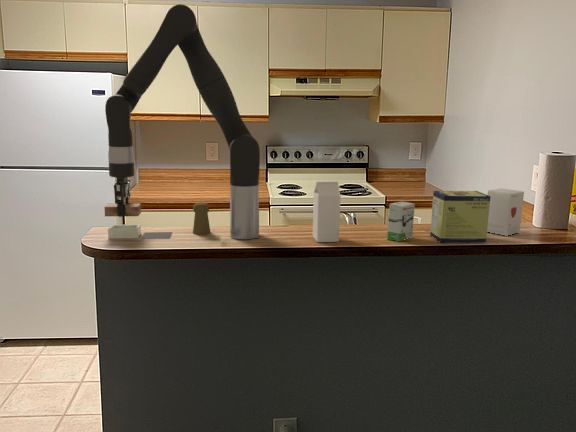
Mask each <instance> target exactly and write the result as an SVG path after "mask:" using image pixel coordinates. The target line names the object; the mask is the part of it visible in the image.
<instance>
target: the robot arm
mask: <svg viewBox="0 0 576 432" xmlns="http://www.w3.org/2000/svg"><path fill="white" fill-rule="evenodd" d="M197 22H198V21H197V18H196V15H195V13H194V10H192V9H191V8H190V7H189V6H188V5H185V4H182V3H179V4H175V5H172V6H171V7H170V8H168V9H167V11H166V13H165V15H164V18H163V20H162V22H161V24H160V27H159V29H158V30H157V32H156V34H155V35H154V36H153V39H152V40H151V41H150V43H149V44H148V46H147V48H146V49H145V50H144V52H143V53H142V54H141V55H140V56H139V58H138V60H137V61H136V62H135V63H134V64H133V65H132V68H131V69H130V70H129V71H128V73H127V75H126V76H125V77H124V79H123V83H122V85H121V86H120V87H119V89H118V90H117V92H116V93H115V94H113V95H111V96H110V97H107V99H106V101H105V111H104V112H105V118H106V124H107V131H108V134H107V135H108V140H107V141H108V151H107V154H108V155H107V156H108V159H107V160H108V175H109V177H111V178H116V179H115V180H116V182H114V185H113V193H114V203H115V204H117V211H118V216H117V217H120V218H121V217H122V218H124V217H126V216H125V203H130V202H129V201H130V200H131V199H130V198H131V179H130V178H133V177H135V156H134V155H135V154H134V146H133V131H132V129H131V124H130V123H131V120H130V119H131V118H130V115H131V114H132V113H133V111H134V110H135V108H136V107H137V104H138V103H139V101H140V100H141V98H142V97H143V95H144V94H145V93H146V92H147V90H148V89H149V88H150V86H151V85H152V84H153V82H154V80H156V78H157V76H158V75H159V73H160V71H161V70H162V68H163V66H164V64H165V63H166V61H167V59H168V58H169V56H170V55H171V53H172V52H173V51H174V49H175V48H176V47H177V46H178V47H179V49H180V51H181V52H182V53H181V54H183V56H184V58H185V60H186V63H187V66H188V68H189V71H190V73H191V76H192V79H193V81H194V84H195V86H196V88H197V90H198V92H199V94H200V97H201V98H202V101H203V102H204V104H205V105H206V107H207V109H208V110H209V112H210V113H211V115H212V116H213V118H214V119H215V121H216V122H217V124H218V126H219V128H220V129H221V131H222V133H223V136H224V138H225V141H226V143H227V146H228V149H229V160H230V162H229V163H230V165H229V167H230V168H229V169H230V171H229V199H230V203H229V212H230V213H229V215H230V216H229V217H230V219H229V222H230V223H229V224H230V227H229V228H230V231H229V233H230V238H232V239H237V240H251V239H259V238H260V209H259V207H260V206H259V204H260V203H259V202H260V201H259V199H260V198H259V197H260V195H259V194H260V193H259V188H260V187H259V186H260V185H259V184H260V183H259V182H260V166H261V165H260V164H261V162H260V159H261V158H260V156H261V155H260V154H261V153H260V152H261V151H260V145H259V142H258V141H257V139H255V137H254V136H253V135H252V134H251V132H250V130H249V129H248V128H247V125H246V124H245V122H244V121H243V119H242V116H241V115H240V112H239V109H238V106H237V103H236V99H235V96H234V94H233V91H232V89H231V86H230V84H229V82H228V80H227V79H226V77H225V74H224V73H223V71H222V69H221V67H220V66H219V63H217V61H216V60H215V58H214V57H213V56H212V54H211V53H210V51H209V50H208V48H207V45H206V44H205V41H204V40H203V37H202V34H201V31H200V30H199V26H198V23H197Z"/></svg>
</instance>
